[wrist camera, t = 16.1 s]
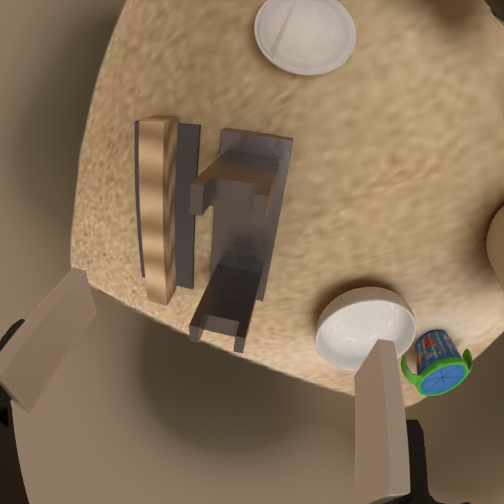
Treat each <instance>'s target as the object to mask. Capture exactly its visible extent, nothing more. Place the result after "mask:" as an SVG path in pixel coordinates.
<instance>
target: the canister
mask: <svg viewBox="0 0 504 504" xmlns="http://www.w3.org/2000/svg"><path fill="white" fill-rule="evenodd" d="M486 245H487V246H486V249H487V255H488V258H489V261H490V264H491V266H492V268H493V270H494V272H495V274H496V276H497V279H498V281H499V283H500V285H501V287H502V289H503V291H504V206H502V208H501V209H500V210H498V212H497V214H495V217H494V218H493V219H492V222H491V224H490V227H489V229H488V234H487V241H486Z"/></svg>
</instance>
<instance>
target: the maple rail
mask: <svg viewBox="0 0 504 504" xmlns="http://www.w3.org/2000/svg"><path fill="white" fill-rule="evenodd" d="M177 130H178V117H167V116H153V117H150V118H146V119H143V120H140V121H139V195H140V217H141V233H142V246H143V258H144V268H145V278H146V287H147V295H148V301H151V302H155V303H159V304H162V305H166V306H167V305H168V303H169V301H170V300H171V298H172V296H173V294H174V293H175V291H176V268H175V177H176V150H177Z"/></svg>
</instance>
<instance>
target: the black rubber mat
mask: <svg viewBox="0 0 504 504" xmlns="http://www.w3.org/2000/svg"><path fill="white" fill-rule="evenodd" d="M200 129H201V125H192V124H180V123H178V130H177V150H176V177H175V268H176V285H177V286H181V287H185V288H190V289H193V287H194V237H195V214H190V188H191V183H192V182H193V181H194V180H195V179H196V178H197V171H198V155H199V141H200ZM135 190H136V211H137V227H138V240H139V251H140V261H141V271H142V277H144V278H145V268H144V258H143V246H142V233H141V217H140V195H139V121H136V122H135Z"/></svg>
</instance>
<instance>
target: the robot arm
mask: <svg viewBox="0 0 504 504" xmlns="http://www.w3.org/2000/svg"><path fill="white" fill-rule="evenodd" d="M484 1H485V2H486V3H487V5H488V6H489V7H490V10H491V12H492V14H493V15H494V16H495V18H496V19H498V20H499V21H500V22H501V23H502V24H503V26H504V0H484ZM96 314H97V313H96V309H95V306H94V302H93V298H92V295H91V291H90V287H89V283H88V279H87V275H86V271H84V270H81V269H78V268H73V269H72V270H71V271H70V272H69V273H68V274H67V275H66V276H65V277H64V278H63V279H62V280H61V281H60V282H59V283H58V285H56V286H55V287H54V289H53V290H52V291H51V292H50V293H49V294H48V295H47V296H46V297H45V299H44V300H43V301H42V302H41V303H40V304H39V305H38V306H37V307H36V309H35V310H34V311H33V312H32V313H31V314H30V316H29V317H28V318H27V319H26V320H24V319H21V320H19V321H17V322H16V323H14V324H13V325H12V326H11V327H10V328H9V330H8V331H7V332H6V334H5V335H4V336H3V337H2V338H1V341H0V504H29V502H28V498H27V494H26V490H25V486H24V482H23V478H22V474H21V469H20V464H19V458H18V453H17V447H16V440H15V433H14V425H13V416H12V407H11V403H10V401H11V399H12V400H13V401H14V402H15V403H16V404H17V405H18V406H19V407H21V408H22V409H23V410H25V411H26V412H28V413H30V412H31V409H32V408H33V407H34V405H35V403H36V402H37V400H38V399H39V397H40V395H41V394H42V392H43V390H44V389H45V387H46V386H47V384H48V383H49V381H50V380H51V378H52V377H53V375H54V373H55V372H56V370H57V369H58V367H59V366H60V364H61V363H62V361H63V360H64V359H65V357H66V355H67V354H68V353H69V351H70V350H71V348H72V347H73V345H74V344H75V343H76V341H77V340H78V338H79V337H80V335H81V333H83V331H84V330H85V328H86V327H87V326H88V324H89V323H90V321H91V320H92V319H93V318H94V316H95V315H96ZM354 379H355V411H356V412H355V415H356V445H355V478H354V495H353V504H443V503H439V502H436V501H435V500H434V499H433V497H432V496H430V494H429V491H428V482H427V466H426V455H425V446H424V435H423V430H422V428H421V426H420V424H419V422H418V420H406V418H405V409H404V401H403V394H402V387H401V380H400V373H399V367H398V361H397V356H396V350H395V345H394V341H389V340H383V339H378V340H377V341H376V343H375V345H374V346H373V348H372V349H371V351H370V353H369V354H368V356H367V357H366V359H365V361H364V362H363V364H362V365H361V367H360V368H359V370H358V371H357V373H356V374H355V376H354ZM462 504H470V503H467V502H465V503H462Z"/></svg>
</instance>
